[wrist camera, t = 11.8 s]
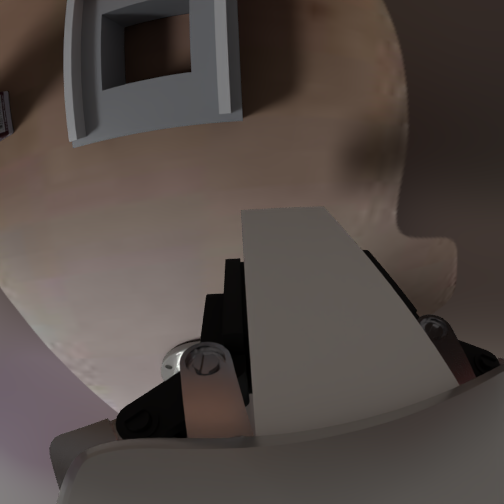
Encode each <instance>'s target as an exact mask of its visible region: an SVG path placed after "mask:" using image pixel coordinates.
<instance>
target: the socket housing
mask: <svg viewBox="0 0 504 504" xmlns="http://www.w3.org/2000/svg"><path fill="white" fill-rule="evenodd" d="M188 13H189V15H190V51H191V72H188V73H181V74H174V75H168V76H163V77H157V78H152V79H147V80H142V81H138V82H134V83H129V84H126V80H125V52H124V27H128V26H131V25H135V24H139V23H143V22H147V21H151V20H155V19H160V18H165V17H170V16H176V15H181V14H188ZM64 94H65V108H66V118H67V127H68V135H69V142H71V141H72V145H73V148H75V147H79V146H83V145H86V144H90V143H94V142H98V141H103V140H107V139H111V138H116V137H121V136H125V135H131V134H136V133H141V132H147V131H153V130H159V129H166V128H172V127H180V126H188V125H197V124H206V123H218V122H231V121H243V116H242V95H241V74H240V53H239V32H238V10H237V0H67V7H66V17H65V30H64Z"/></svg>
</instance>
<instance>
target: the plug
mask: <svg viewBox="0 0 504 504" xmlns="http://www.w3.org/2000/svg"><path fill="white" fill-rule="evenodd" d="M241 219H242V236H243V253H244V270H245V286H246V302H247V318H248V333H249V348H250V363H251V377H252V392H253V405H254V419H255V432H256V436H265V435H275V434H284V433H292V432H300V431H306V430H313V429H319V428H324V427H329V426H334V425H339V424H344V423H348V422H353V421H357V420H361V419H365V418H369V417H373V416H376V415H380V414H383V413H387V412H390V411H393V410H397V409H400V408H403V407H406V406H409V405H412V404H415V403H417V402H420V401H423V400H426V399H428V398H431V397H433V396H436V395H438V394H441V393H443V392H446V391H448V390H450V389H453V388H455V387H457V386H460V385H459V383H458V382H457V380H456V379H455V377H454V375H453V374H452V372H451V370H450V369H449V367H448V366H447V364H446V363H445V361H444V359H443V358H442V356H441V355H440V353H439V352H438V350H437V349H436V347H435V346H434V344H433V343H432V341H431V340H430V338H429V337H428V335H427V334H426V333H425V331H424V330H423V328H422V327H421V325H420V324H419V323H418V321H417V320H416V318H415V317H414V316H413V314H412V313H411V312H410V310H409V309H408V307H407V306H406V305H405V303H404V302H403V301H402V299H401V298H400V297H399V295H398V294H397V293H396V292H395V290H394V289H393V288H392V286H391V285H390V284H389V283H388V281H387V280H386V279H385V277H384V276H383V275H382V274H381V272H380V271H379V270H378V269H377V268H376V266H375V265H374V264H373V263H372V261H371V260H370V259H369V258H368V257H367V255H366V254H365V253H364V252H363V251H362V249H361V248H360V247H359V246H358V245H357V243H356V242H355V241H354V240H353V239H352V238H351V237H350V235H349V234H348V233H347V232H346V231H345V230H344V229H343V227H342V226H341V225H340V224H339V223H338V222H337V221H336V220H335V218H334V217H333V216H332V215H331V214H330V213H329V212H328V211H327V210H326V209H325V207H324V206H321V207H293V208H271V209H252V210H241Z"/></svg>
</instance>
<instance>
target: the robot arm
mask: <svg viewBox="0 0 504 504" xmlns="http://www.w3.org/2000/svg"><path fill="white" fill-rule="evenodd" d="M362 251H363V252H364V253H365V254H366V255H367V257H368V258H369V259H370V260H371V261H372V263H373V264H374V265H375V266H376V268H377V269H378V270H379V271H380V272H381V274H382V275H383V276H384V277H385V279H386V280H387V281H388V283H389V284H390V285H391V286H392V288H393V289H394V290H395V292H396V293H397V294H398V295H399V297H400V298H401V299H402V301H403V302H404V303H405V305H406V306H407V307H408V309H409V310H410V312H411V313H412V314H413V316H414V317H415V318H416V320H417V321H418V323H419V324H420V325H421V327H422V328H423V330H424V331H425V333H426V334H427V335H428V337H429V338H430V340H431V341H432V343H433V344H434V346H435V347H436V349H437V350H438V352H439V353H440V355H441V356H442V358H443V359H444V361H445V363H446V364H447V366H448V367H449V369H450V370H451V372H452V374H453V375H454V377H455V379H456V380H457V382H458V383H459V385H460V386H457V387H455V388H453V389H450V390H448V391H446V392H443V393H441V394H438V395H436V396H433V397H431V398H428V399H426V400H423V401H420V402H417V403H415V404H412V405H409V406H406V407H403V408H400V409H397V410H393V411H390V412H387V413H383V414H380V415H376V416H373V417H369V418H365V419H361V420H357V421H353V422H348V423H344V424H339V425H334V426H329V427H324V428H319V429H313V430H306V431H300V432H292V433H284V434H275V435H265V436H256V432H255V419H254V405H253V392H252V377H251V363H250V348H249V333H248V318H247V302H246V286H245V270H244V262H240V258H239V259H226V262H225V280H224V294H207V295H206V301H205V309H204V316H203V324H202V332H201V340H200V341H196V342H190V343H186V344H182V345H180V346H178V347H176V348H174V349H172V350H171V351H170V352H168V353H167V355H166V356H165V357H164V359H163V362H162V367H161V376H162V378H163V380H164V382H163V383H161V384H160V385H158V386H156V387H155V388H153V389H152V390H150V391H149V392H147V393H146V394H144V395H143V396H141V397H140V398H138V399H136V400H135V401H133V402H132V403H130V404H128V405H127V406H126V407H124V408H123V409H122V410H121V411H120V413H119V414H118V416H117V419H114V420H112V421H109V419H105V420H102V421H100V422H96V423H94V424H91V425H88V426H85V427H82V428H79V429H76V430H73V431H70V432H67V433H64V434H61V435H59V436H57V437H55V438H54V440H53V441H52V442H51V445H50V448H49V449H50V458H51V462H52V465H53V469H54V473H55V476H56V480H57V483H58V486H59V489H60V493H59V496H58V500H57V504H504V359H503V358H498V359H497V358H496V356H495V355H493V354H492V353H491V352H489V351H487V350H484V349H481V348H479V347H476V346H473V345H471V344H468V343H465V342H462V341H460V340H458V339H457V337H456V335H455V333H454V331H453V329H452V328H451V326H450V325H449V323H448V322H447V321H445V320H444V319H443V318H441V317H439V316H435V315H423V316H421V317H419V316H418V315H417V313H416V312H417V310H416V308H415V307H414V306H413V304H412V303H411V302H410V301H409V299H408V298H407V297H406V295H405V294H404V293H403V292H402V290H401V289H400V288H399V287H398V285H397V284H396V283H395V282H394V280H393V279H392V278H391V277H390V276H389V274H388V273H387V272H386V271H385V269H384V268H383V267H382V266H381V265H380V264H379V262H378V261H377V260H376V259H375V258H374V257H373V255H372V254H371V253H370V252H369V251H368V250H362Z"/></svg>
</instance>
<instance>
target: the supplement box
mask: <svg viewBox="0 0 504 504" xmlns="http://www.w3.org/2000/svg"><path fill="white" fill-rule="evenodd" d="M11 134H13V127H12V120H11V112H10V104H9V94H8V91H4V92H0V141H1V140H3V139H4V138H6V137H8V136H9V135H11Z"/></svg>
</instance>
